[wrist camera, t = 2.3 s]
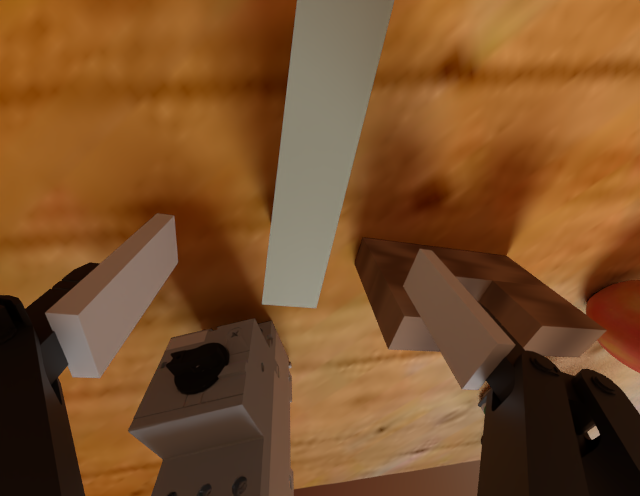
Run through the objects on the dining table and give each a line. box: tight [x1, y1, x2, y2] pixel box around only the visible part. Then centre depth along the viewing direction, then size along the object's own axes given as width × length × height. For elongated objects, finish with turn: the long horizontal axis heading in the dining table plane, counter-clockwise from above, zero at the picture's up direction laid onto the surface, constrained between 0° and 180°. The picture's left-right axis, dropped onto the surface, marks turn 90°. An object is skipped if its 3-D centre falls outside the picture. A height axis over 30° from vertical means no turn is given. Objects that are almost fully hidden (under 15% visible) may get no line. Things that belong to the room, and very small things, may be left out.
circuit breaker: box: [128, 318, 294, 496], centre depth 23 cm, size 8×14×15 cm, turn 12°
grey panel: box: [262, 0, 394, 308], centre depth 15 cm, size 14×3×10 cm, turn 169°
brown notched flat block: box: [355, 238, 607, 357], centre depth 22 cm, size 16×3×10 cm, turn 79°
